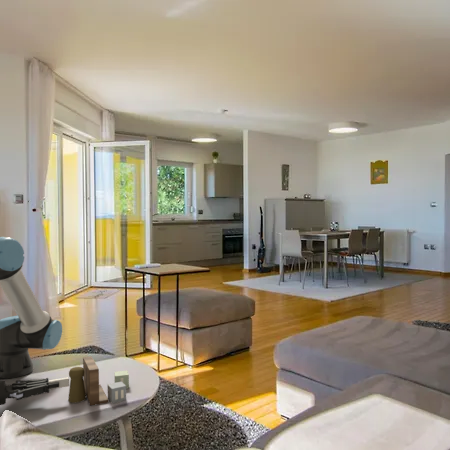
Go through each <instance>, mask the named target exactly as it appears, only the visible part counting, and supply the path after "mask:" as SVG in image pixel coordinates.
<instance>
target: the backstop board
mask: <svg viewBox="0 0 450 450" xmlns="http://www.w3.org/2000/svg"><path fill="white" fill-rule="evenodd" d="M82 364H83V365H82V368H83V369H84V371H85V373H84V376H83V380H84V387H85V393H86V400H87V401H88V403H89V406H91V407H92V406H97V405H101V404H107V403H109V399H108V395H107V394H106V392H105V390H104V389H103V387H102V385H101V384H100V371H99V370H100V369H99V367H98V365H97V363H96V361H95V359H94V358H93V356H91V355H90V356H84V357H82Z"/></svg>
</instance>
